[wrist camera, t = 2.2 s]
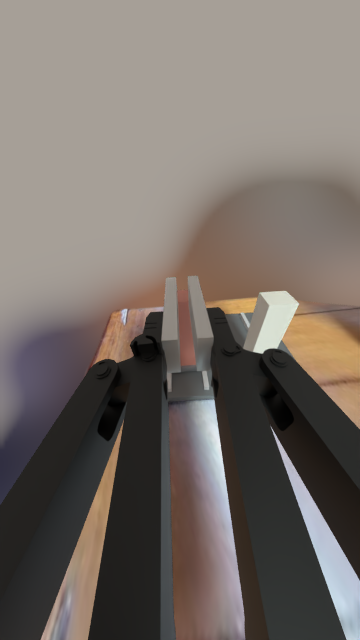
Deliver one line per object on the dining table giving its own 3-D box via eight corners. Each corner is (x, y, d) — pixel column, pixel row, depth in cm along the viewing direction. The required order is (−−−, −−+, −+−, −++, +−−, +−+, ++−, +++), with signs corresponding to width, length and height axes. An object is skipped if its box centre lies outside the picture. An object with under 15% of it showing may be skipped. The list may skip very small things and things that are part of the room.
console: (260, 316, 44) (263, 309, 42) (311, 393, 28) (318, 386, 26) (150, 323, 44) (148, 316, 43) (136, 403, 28) (133, 397, 27)
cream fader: (260, 357, 32) (289, 288, 22) (269, 376, 29) (308, 305, 19) (234, 359, 32) (252, 291, 22) (241, 378, 29) (264, 308, 19)
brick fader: (197, 353, 33) (198, 287, 24) (200, 370, 30) (202, 302, 21) (173, 355, 34) (164, 289, 24) (173, 372, 30) (162, 305, 21)
